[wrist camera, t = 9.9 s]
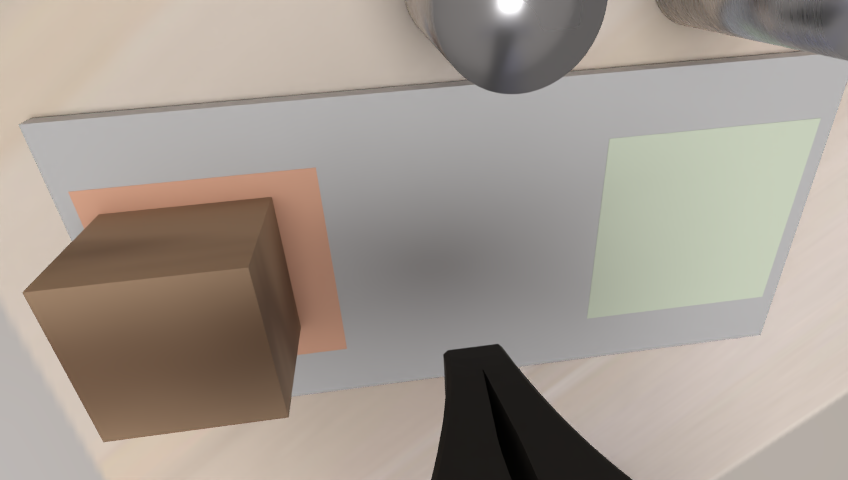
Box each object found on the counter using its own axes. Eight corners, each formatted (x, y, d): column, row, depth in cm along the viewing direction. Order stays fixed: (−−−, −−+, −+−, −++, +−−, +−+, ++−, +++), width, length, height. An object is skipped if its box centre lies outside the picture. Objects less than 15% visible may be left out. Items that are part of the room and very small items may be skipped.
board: (750, 325, 21) (760, 335, 21) (156, 403, 20) (151, 415, 19) (841, 47, 16) (858, 51, 15) (31, 118, 14) (18, 124, 14)
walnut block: (300, 327, 18) (288, 417, 14) (152, 345, 17) (103, 442, 14) (271, 197, 15) (248, 267, 12) (98, 214, 15) (22, 292, 12)
